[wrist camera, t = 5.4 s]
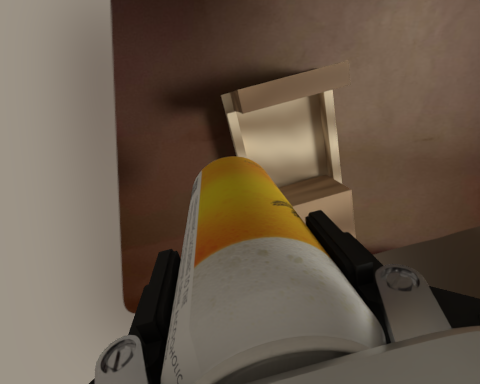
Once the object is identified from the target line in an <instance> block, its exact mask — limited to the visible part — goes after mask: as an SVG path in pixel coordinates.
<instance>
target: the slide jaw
mask: <svg viewBox="0 0 480 384" xmlns="http://www.w3.org/2000/svg"><path fill="white" fill-rule="evenodd" d="M278 189H279V190H280V191H281V192H282V194H283V195H284V196H285V198H286V199H287V200H288V202H289V203H290V204H291V206H292V207H293V208H294V210H295V211H296V212H297V214H298V215H299V216H300V218H301V219H302V220H303V222H304V223H305V224H306V221H305V217H307V216H308V214H309V213H310V212H314V211H317V210H322V211H323V212H324V213H325V214H326V215H327V216H328V217H329V218H330V219H331V220H332V221H333V222H334V223H335V224H336V225H337V226H338V227H339V228H340V229H341V230H342V231H343V232H349V233H350V234H351V235H352V236H353V237H354V238H355V239H356V237H355V225H354V214H353V202H352V191H351V189H349V188H348V187H346V186H344V185H343V184H341V183H339V182H338V181H336V180H334V179H333V178H331V177H329V176H328V175H322V176H319V177H315V178H312V179H308V180H305V181H301V182H298V183H294V184H291V185H287V186H283V187H280V188H278Z"/></svg>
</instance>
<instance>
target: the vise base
mask: <svg viewBox="0 0 480 384" xmlns="http://www.w3.org/2000/svg"><path fill="white" fill-rule="evenodd" d="M348 85H351V82H350V69H349V60H348V61H344V62H341V63H337V64H333V65H329V66H325V67H322V68H318V69H314V70H310V71H307V72H303V73H299V74H295V75H292V76H288V77H284V78H280V79H277V80H273V81H269V82H265V83H262V84H258V85H254V86H250V87H247V88H243V89H239V90H236V91H233V92H230V93H227V94H223V95H221V98H222V102H223V106H224V110H225V114H226V118H227V122H228V126H229V129H230V133H231V137H232V141H233V145H234V149H235V153H236V156H238V157H244V158H248V159H250V160H252V161H254V162H256V163H257V164H259V165H260V166H261V167H262V168H263V169H264V170H265V171H266V173H267V174H268V175H269V177H270V178H271V179H272V181H273V182H274V183H275V185H276V186H277V187H278V188H280V187H283V186H287V185H291V184H294V183H298V182H301V181H305V180H308V179H312V178H315V177H319V176H322V175H328V176H329V177H331V178H333V179H334V180H336V181H338V182H339V183H341V184H342V179H341V169H340V159H339V149H338V139H337V130H336V120H335V110H334V100H333V89H337V88H340V87H344V86H348Z"/></svg>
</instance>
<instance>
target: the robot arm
mask: <svg viewBox="0 0 480 384" xmlns="http://www.w3.org/2000/svg"><path fill="white" fill-rule="evenodd" d="M305 221H306V226H307V227H308V228H309V230H310V231H311V232H312V234H313V235H314V236H315V237H316V239H317V240H318V241H319V243H320V244H321V245H322V247H323V248H324V249H325V251H326V252H327V253H328V255H329V256H330V257H331V259H332V260H333V261H334V263H335V264H336V265H337V267H338V268H339V269H340V271H341V272H342V273H343V275H344V276H345V277H346V279H347V280H348V281H349V282H350V284H351V285H352V286H353V288H354V289H355V290H356V292H357V293H358V294H359V296H360V297H361V298H362V300H363V301H364V302H365V304H366V305H367V306H368V308H369V309H370V310H371V312H372V313H373V314H374V316H375V317H376V318H377V320H378V321H379V323H380V325H381V326H382V329H383V332H384V334H385V339H386V345H382V346H379V347H375V348H371V349H368V350H364V351H360V352H357V353H353V354H349V355H346V356H342V357H338V358H335V359H331V360H327V361H324V362H320V363H316V364H313V365H309V366H306V367H302V368H298V369H295V370H291V371H288V372H284V373H281V374H277V375H273V376H270V377H266V378H263V379H259V380H256V381H252V382H248V383H245V384H480V299H478V298H474V297H470V296H466V295H462V294H458V293H455V292H451V291H447V290H443V289H439V288H435V287H431V286H428V284H427V282H426V281H425V279H424V278H423V276H422V275H421V274H420V273H419V272H417V271H416V270H414V269H412V268H410V267H407V266H404V265H398V264H390V265H385V266H383V265H382V264H381V263H380V262H379V261H378V260H377V259H376V258H375V257H374V256H373V255H372V254H371V253H370V252H369V251H368V250H367V249H366V248H365V247H364V246H363V245H362V244H361V243H360V242H359V241H358V240H357V239H355V238H354V237H353V236H352V235H351V234H350V233H349V232H343V231H342V230H341V229H340V228H339V227H338V226H337V225H336V224H335V223H334V222H333V221H332V220H331V219H330V218H329V217H328V216H327V215H326V214H325V213H324V212H323V211H322V210H317V211H314V212H310V213H309V214H308V216H307V217H305ZM180 261H181V259H180V257H179V254H178V252H177V251H173V250H172V249H169V250H166V251H162V252H159V254H158V257H157V260H156V263H155V266H154V269H153V273H152V276H151V279H150V282H149V285H146V286H145V287H144V290H143V293H142V296H141V299H140V301H139V304H138V307H137V310H136V313H135V316H134V319H133V322H132V325H131V328H130V332H129V334H128V335H127V336H123V337H121V338H119V339H117V340H115V341H114V342H113V343H111V344H110V345H109V346H108V347H107V348H106V349H105V350H104V351H103V352H102V354H101V355H100V357H99V359H98V361H97V363H96V368H95V379H93V380H92V381H91V382H90V383H89V384H161V375H162V369H163V363H164V357H165V351H166V345H167V339H168V333H169V327H170V321H171V315H172V309H173V303H174V297H175V291H176V285H177V279H178V273H179V267H180Z"/></svg>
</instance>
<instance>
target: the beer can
mask: <svg viewBox="0 0 480 384" xmlns="http://www.w3.org/2000/svg"><path fill="white" fill-rule="evenodd" d="M382 345H386V339H385V334H384V332H383V329H382V326H381V325H380V323H379V321H378V320H377V318H376V317H375V316H374V314H373V313H372V312H371V310H370V309H369V308H368V306H367V305H366V304H365V302H364V301H363V300H362V298H361V297H360V296H359V294H358V293H357V292H356V290H355V289H354V288H353V286H352V285H351V284H350V282H349V281H348V280H347V279H346V277H345V276H344V275H343V273H342V272H341V271H340V269H339V268H338V267H337V265H336V264H335V263H334V261H333V260H332V259H331V257H330V256H329V255H328V253H327V252H326V251H325V249H324V248H323V247H322V245H321V244H320V243H319V241H318V240H317V239H316V237H315V236H314V235H313V234H312V232H311V231H310V230H309V228H308V227H307V226H306V224H305V223H304V222H303V220H302V219H301V218H300V216H299V215H298V214H297V212H296V211H295V210H294V208H293V207H292V206H291V204H290V203H289V202H288V200H287V199H286V198H285V196H284V195H283V194H282V192H281V191H280V190H279V189H278V187H277V186H276V185H275V183H274V182H273V181H272V179H271V178H270V177H269V175H268V174H267V173H266V171H265V170H264V169H263V168H262V167H261V166H260V165H259V164H257V163H256V162H254V161H252V160H250V159H248V158H244V157H238V156H230V157H224V158H220V159H217V160H215V161H213V162H211V163H210V164H208V165H207V166H206V167H205V168H204V169H203V170H202V171H201V172H200V173H199V175H198V176H197V178H196V180H195V182H194V185H193V190H192V195H191V201H190V207H189V213H188V219H187V225H186V231H185V237H184V243H183V249H182V255H181V261H180V267H179V273H178V279H177V285H176V291H175V297H174V303H173V309H172V315H171V321H170V327H169V333H168V339H167V345H166V351H165V357H164V363H163V369H162V375H161V384H245V383H248V382H252V381H256V380H259V379H263V378H266V377H270V376H273V375H277V374H281V373H284V372H288V371H291V370H295V369H298V368H302V367H306V366H309V365H313V364H316V363H320V362H324V361H327V360H331V359H335V358H338V357H342V356H346V355H349V354H353V353H357V352H360V351H364V350H368V349H371V348H375V347H379V346H382Z"/></svg>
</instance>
